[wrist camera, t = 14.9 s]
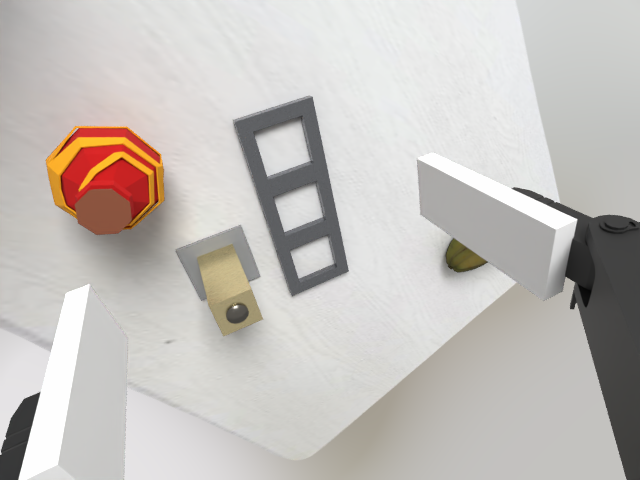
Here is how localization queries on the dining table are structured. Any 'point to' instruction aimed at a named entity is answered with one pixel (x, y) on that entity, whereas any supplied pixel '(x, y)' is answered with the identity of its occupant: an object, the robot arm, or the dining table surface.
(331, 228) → the grey triple frame
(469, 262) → the fruit
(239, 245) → the pad
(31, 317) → the dining table surface
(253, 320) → the brass block with knob
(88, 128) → the potion bottle
